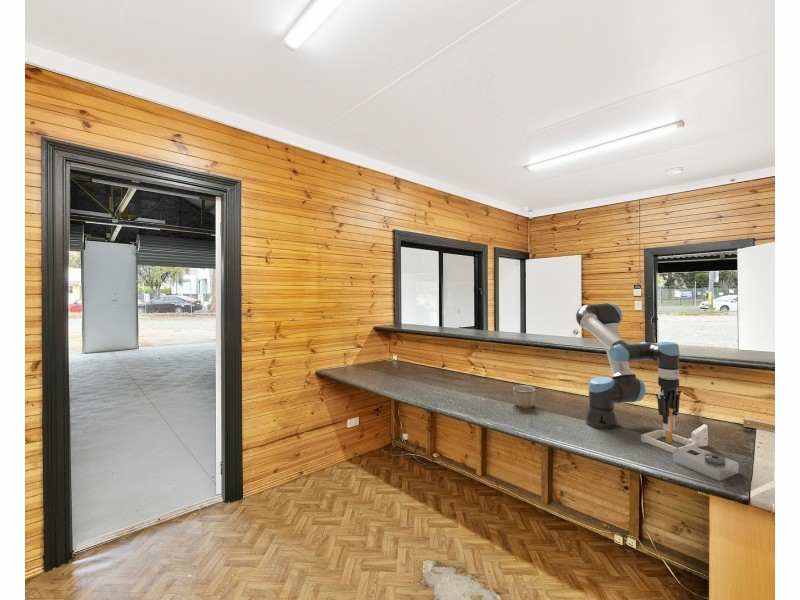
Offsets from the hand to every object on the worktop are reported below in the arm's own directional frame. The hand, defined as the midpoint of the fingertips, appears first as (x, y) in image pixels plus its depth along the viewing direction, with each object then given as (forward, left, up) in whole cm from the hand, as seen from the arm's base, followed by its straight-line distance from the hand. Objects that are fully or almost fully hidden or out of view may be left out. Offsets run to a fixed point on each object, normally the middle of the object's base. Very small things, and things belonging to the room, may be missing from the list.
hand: (668, 429), depth 163 cm
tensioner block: (+18, -7, -8) cm, 21 cm away
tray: (0, 0, -8) cm, 8 cm away
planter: (-71, -20, -8) cm, 74 cm away
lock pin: (0, 0, -5) cm, 5 cm away
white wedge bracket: (+6, +10, -8) cm, 14 cm away
